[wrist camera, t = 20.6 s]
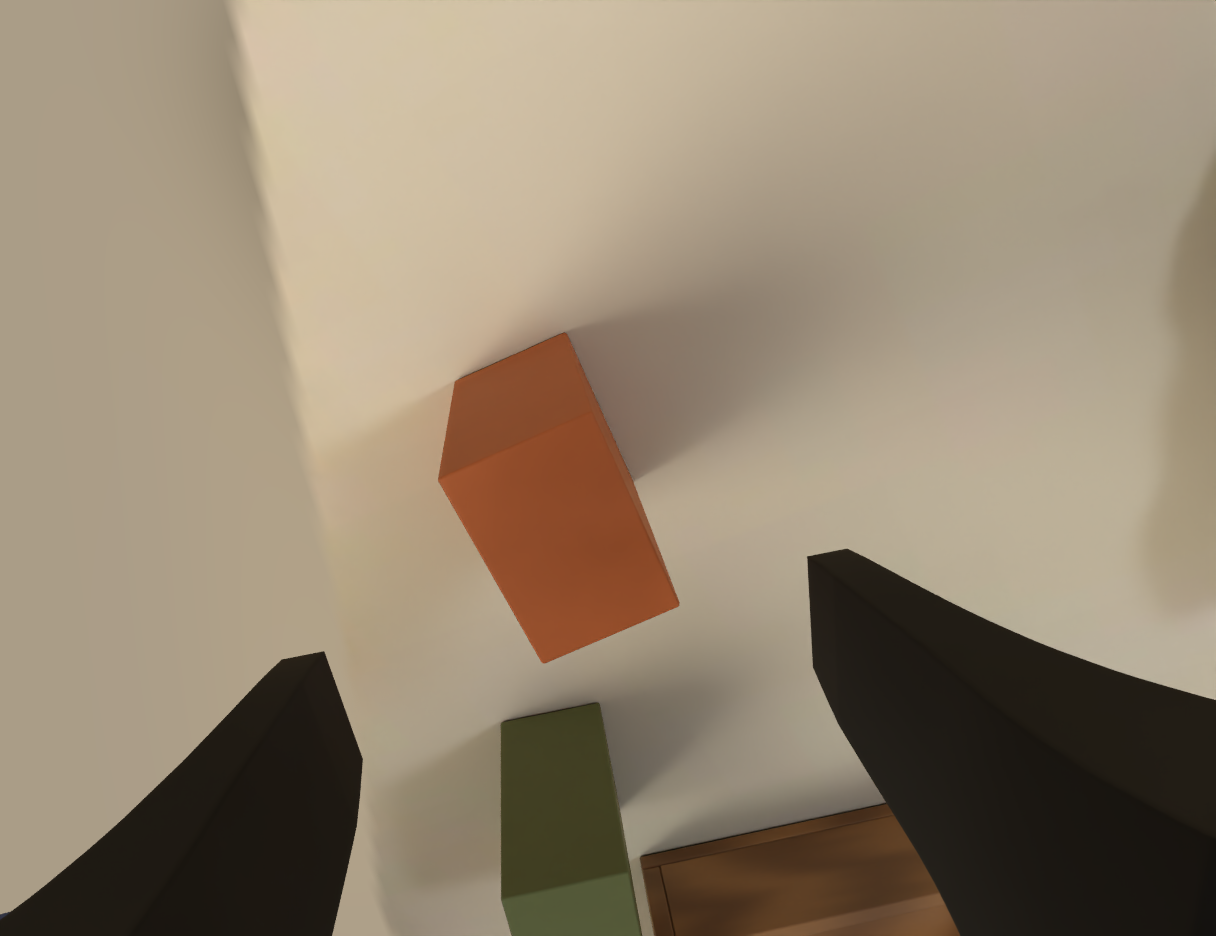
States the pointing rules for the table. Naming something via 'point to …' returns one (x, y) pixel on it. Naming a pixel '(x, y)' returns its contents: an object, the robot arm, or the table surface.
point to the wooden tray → (799, 883)
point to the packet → (563, 829)
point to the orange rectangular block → (551, 501)
